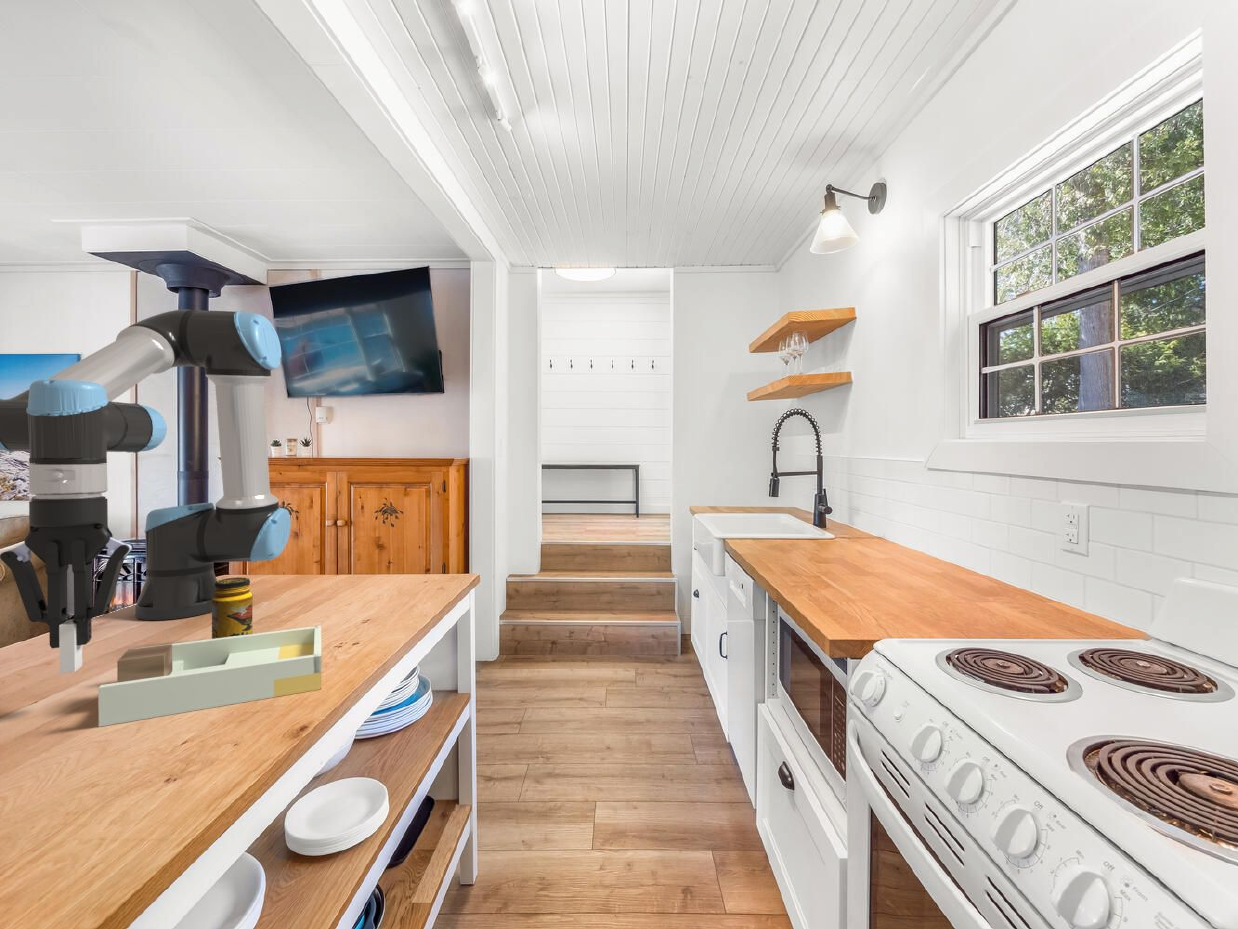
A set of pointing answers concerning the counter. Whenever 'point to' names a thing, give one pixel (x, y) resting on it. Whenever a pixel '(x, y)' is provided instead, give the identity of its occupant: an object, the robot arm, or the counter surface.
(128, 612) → the counter surface
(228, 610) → the condiment
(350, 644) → the counter surface
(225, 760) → the counter surface
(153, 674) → the block
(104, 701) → the box
